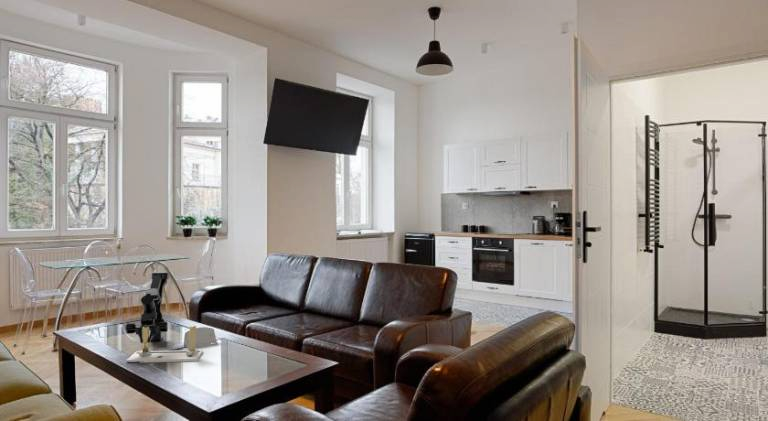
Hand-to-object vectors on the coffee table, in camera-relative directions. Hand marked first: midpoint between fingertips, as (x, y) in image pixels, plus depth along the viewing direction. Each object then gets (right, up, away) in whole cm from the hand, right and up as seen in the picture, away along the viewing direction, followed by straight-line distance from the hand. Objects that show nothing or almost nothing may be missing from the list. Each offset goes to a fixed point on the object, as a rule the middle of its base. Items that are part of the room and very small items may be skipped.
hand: (144, 342), depth 227 cm
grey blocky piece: (+17, -8, +26) cm, 32 cm away
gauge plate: (+9, -8, +3) cm, 12 cm away
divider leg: (0, -6, 0) cm, 6 cm away
